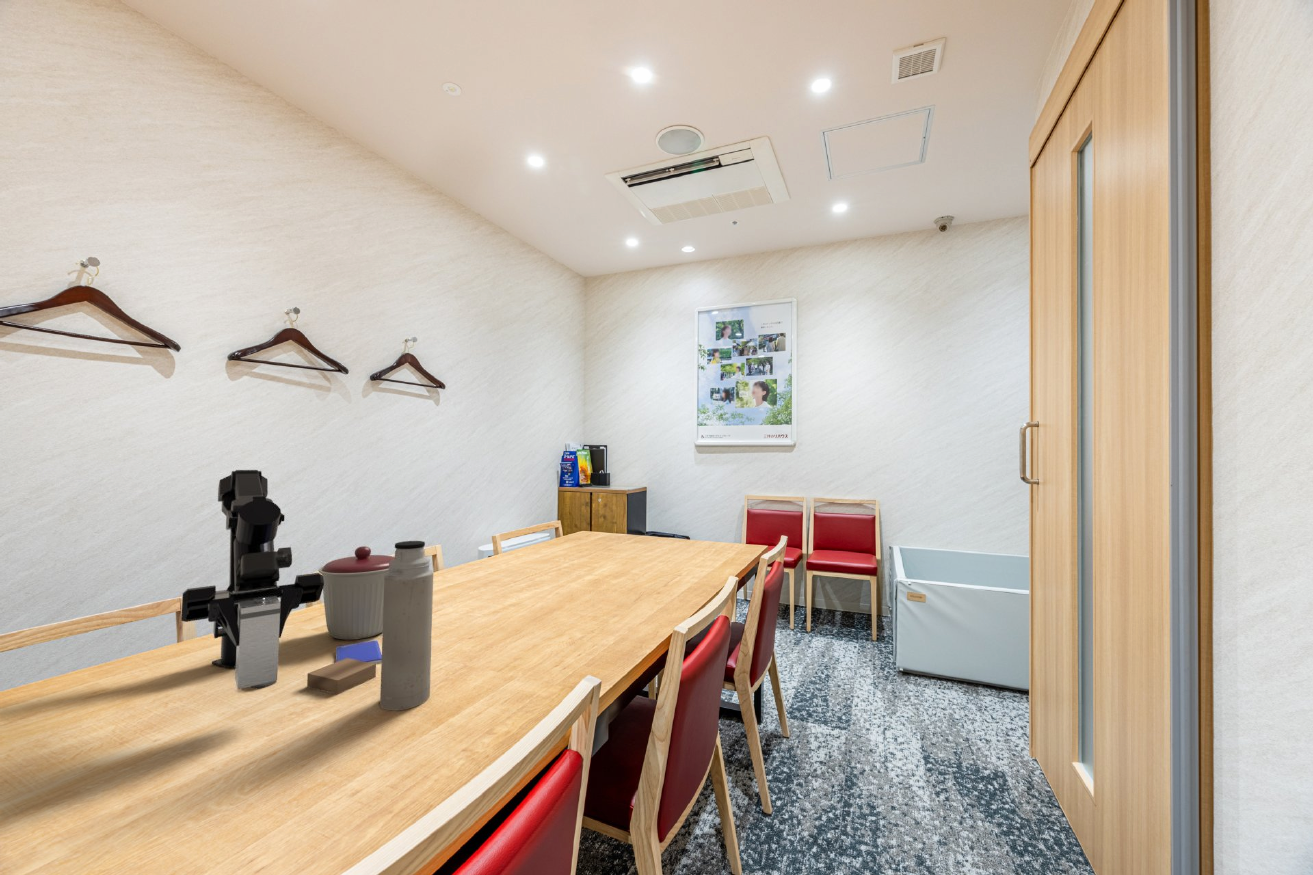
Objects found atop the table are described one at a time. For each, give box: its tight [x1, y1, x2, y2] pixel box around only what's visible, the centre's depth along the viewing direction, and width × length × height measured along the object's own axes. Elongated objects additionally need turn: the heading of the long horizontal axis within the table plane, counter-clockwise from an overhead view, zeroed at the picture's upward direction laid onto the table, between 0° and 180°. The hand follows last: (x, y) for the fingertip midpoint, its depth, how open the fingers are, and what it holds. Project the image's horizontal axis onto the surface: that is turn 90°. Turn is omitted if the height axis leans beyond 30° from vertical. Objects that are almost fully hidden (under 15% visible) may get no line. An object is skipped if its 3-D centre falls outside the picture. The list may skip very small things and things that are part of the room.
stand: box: [306, 658, 377, 695], centre depth 97 cm, size 8×8×2 cm
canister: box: [317, 545, 395, 641], centre depth 125 cm, size 18×18×21 cm
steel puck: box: [250, 679, 278, 689], centre depth 96 cm, size 4×4×2 cm
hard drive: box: [335, 640, 382, 665], centre depth 110 cm, size 2×8×12 cm
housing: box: [234, 596, 281, 690], centre depth 83 cm, size 5×5×13 cm
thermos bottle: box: [379, 540, 434, 711], centre depth 91 cm, size 8×8×28 cm
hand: (258, 640), depth 82 cm, fingers closed on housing, 5 cm apart
